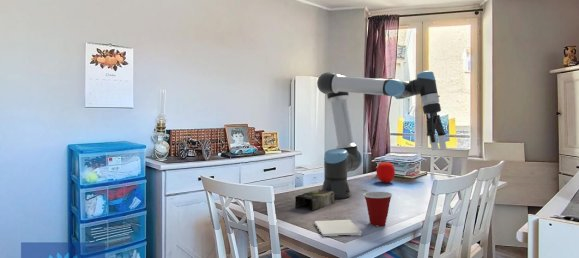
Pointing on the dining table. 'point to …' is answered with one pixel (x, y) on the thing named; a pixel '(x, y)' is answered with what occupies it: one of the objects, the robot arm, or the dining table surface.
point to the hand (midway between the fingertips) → (439, 149)
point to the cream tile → (337, 228)
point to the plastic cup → (378, 207)
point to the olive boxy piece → (315, 199)
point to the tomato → (385, 172)
